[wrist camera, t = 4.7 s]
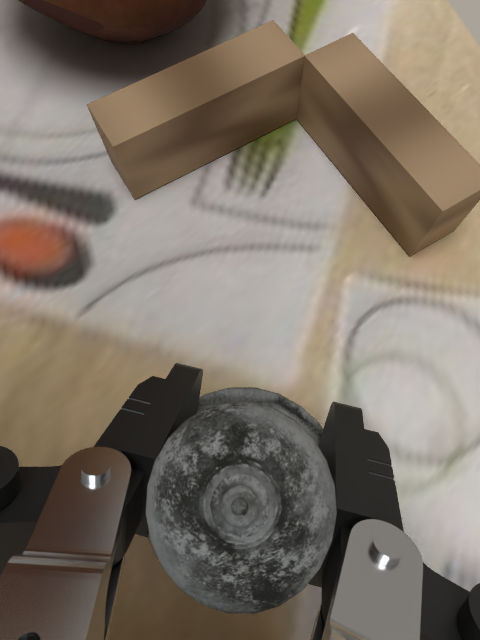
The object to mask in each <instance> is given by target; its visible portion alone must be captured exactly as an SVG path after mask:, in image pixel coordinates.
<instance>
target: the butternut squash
mask: <svg viewBox="0 0 480 640" xmlns="http://www.w3.org/2000/svg"><path fill="white" fill-rule="evenodd" d="M19 1H21V2H22V3H24V4H25V5H27V6H29V7H31V8H32V9H34V10H36V11H38V12H40V13H42V14H44V15H46V16H48V17H50V18H52V19H54V20H56V21H58V22H60V23H63V24H65V25H67V26H69V27H71V28H73V29H76V30H79V31H81V32H84V33H87V34H90V35H92V36H95V37H98V38H100V39H103V40H106V41H112V42H120V43H128V44H139V43H141V42H142V41H144V40H147V39H151V38H154V37H157V36H161V35H163V34H166V33H168V32H171V31H173V30H175V29H177V28H179V27H181V26H183V25H184V24H186V23H188V22H189V21H191V20H192V19H193V18H194V17H195V16H196V15H197V14H198V13H199V11H200V10H201V9H202V7H203V6H204V5H205V3H206V0H19Z"/></svg>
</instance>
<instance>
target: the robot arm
mask: <svg viewBox="0 0 480 640" xmlns="http://www.w3.org/2000/svg"><path fill="white" fill-rule="evenodd" d="M202 376H203V370H202V369H199V368H195V367H191V366H187V365H183V364H179V363H176V364H175V365H174V367H173V368H172V370H171V371H170V373H169V375H168V376H167V378H166V379H162V378H158V377H154V376H152V377H150V378H149V379H147V380H145V381H144V382H142V383H140V384H138V385H137V387H136V388H135V390H134V391H133V392H132V394H131V395H130V397H129V400H128V399H127V401H126V402H125V404H124V405H123V406H122V409H121V410H120V411H119V412H118V413H117V415H116V416H115V418H114V419H113V420H112V422H111V423H110V425H109V426H108V427H107V429H106V430H105V432H104V433H103V434H102V436H101V437H100V439H99V440H98V441H97V443H96V444H95V446H94V447H91V448H86V449H83V450H80V451H78V452H76V453H74V454H73V455H71V456H70V457H69V458H68V459H67V460H66V461H65V462H64V463H63V465H61V466H54V467H19V464H18V459H17V457H16V455H15V454H14V453H13V452H12V451H11V450H9V449H8V448H5V447H2V446H0V640H108V637H109V632H110V627H111V622H112V617H113V613H114V608H115V603H116V598H117V593H118V588H119V584H120V579H121V574H122V569H123V564H124V558H125V553H126V551H127V549H128V547H129V545H130V543H131V541H132V538H133V536H134V534H138V535H142V536H145V537H147V536H148V534H149V528H148V523H147V517H146V501H147V485H148V482H149V479H150V476H151V472H152V469H153V466H154V462H155V460H156V458H157V456H158V454H159V453H160V451H161V449H162V448H163V446H164V444H165V443H166V441H167V439H168V438H169V437H170V436H171V435H172V434H173V433H174V432H175V431H176V430H177V429H178V428H179V427H180V426H181V425H182V424H183V423H184V422H185V421H186V420H187V419H189V418H190V417H192V416H194V415H195V414H197V409H198V402H199V396H200V389H201V383H202ZM318 447H319V449H320V450H321V452H322V454H323V455H324V457H325V458H326V460H327V463H328V466H329V470H330V473H331V476H332V479H333V482H334V485H335V497H336V510H337V515H336V521H335V527H334V533H333V539H332V543H331V545H330V547H329V550H328V552H327V554H326V556H325V559H324V561H323V563H322V565H321V568H320V569H319V570H318V572H317V573H316V574H315V575H314V577H313V578H312V579H311V580H310V581H309V584H311V585H315V586H318V587H322V604H321V606H320V609H319V611H318V614H317V616H316V620H315V624H314V627H313V631H312V635H311V639H310V640H480V584H478V585H476V586H475V587H474V588H472V590H471V591H470V592H469V591H467V590H465V589H464V588H462V587H460V586H458V585H456V584H455V583H453V582H451V581H449V580H448V579H446V578H444V577H442V576H441V575H439V574H437V573H436V572H434V571H433V570H431V569H430V568H429V567H428V566H426V565H425V564H424V563H423V561H422V557H421V554H420V552H419V550H418V548H417V547H416V545H415V544H414V542H413V541H412V540H411V539H410V538H409V537H408V536H407V535H406V534H405V533H404V531H403V525H402V520H401V514H400V509H399V503H398V497H397V492H396V486H395V481H394V480H393V479H394V475H393V470H392V467H391V458H390V453H389V448H388V446H387V445H386V444H385V442H384V441H383V439H382V438H381V436H380V435H379V433H378V432H374V431H370V430H366V429H364V424H363V415H362V409H361V408H357V407H353V406H349V405H345V404H341V403H337V402H333V403H332V405H331V407H330V410H329V413H328V416H327V419H326V422H325V426H324V429H323V432H322V435H321V438H320V441H319V445H318Z"/></svg>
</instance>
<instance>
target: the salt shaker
mask: <svg viewBox="0 0 480 640" xmlns="http://www.w3.org/2000/svg"><path fill="white" fill-rule="evenodd" d="M322 432H323V428H322V427H321V425H320V424H319V423H318V422H317V421H316V420H315V419H314V418H313V417H312V416H311V415H310V414H309V413H308V412H307V411H305V410H304V409H303V408H302V407H301V406H300V405H298V404H296V403H294V402H292V401H291V400H289V399H287V398H285V397H284V396H282V395H280V394H277V393H274V392H270V391H266V390H262V389H258V388H227V389H223V390H219V391H216V392H212V393H208V394H205V395H203V396H202V397H200V398H199V402H198V409H197V414H195V415H194V416H192V417H190V418H189V419H187V420H186V421H185V422H184V423H183V424H182V425H181V426H180V427H179V428H178V429H177V430H176V431H175V432H174V433H173V434H172V435H171V436H170V437H169V438H168V439H167V441H166V443H165V444H164V446H163V448H162V449H161V451H160V453H159V454H158V456H157V458H156V460H155V462H154V466H153V469H152V472H151V476H150V479H149V482H148V485H147V501H146V517H147V523H148V528H149V534H148V536H147V537H148V539H149V541H150V543H151V545H152V547H153V550H154V552H155V554H156V556H157V558H158V560H159V561H160V563H161V565H162V568H163V569H164V570H165V571H166V573H167V574H168V575H169V576H170V577H171V579H172V580H173V581H174V582H175V584H176V585H177V586H178V587H179V589H180V590H182V591H183V592H185V593H186V594H188V595H189V596H190V597H192V598H193V599H195V600H196V601H198V602H199V603H200V604H202V605H204V606H207V607H210V608H213V609H216V610H220V611H223V612H226V613H258V612H261V611H264V610H267V609H270V608H274V607H277V606H280V605H282V604H283V603H285V602H286V601H287V600H289V599H290V598H292V597H293V596H295V595H296V594H297V593H299V592H300V591H302V590H303V589H304V588H305V586H306V585H307V584H308V583H309V581H310V580H311V579H312V578H313V577H314V575H315V574H316V573H317V572H318V570H319V569H320V568H321V565H322V563H323V561H324V559H325V556H326V554H327V552H328V550H329V547H330V545H331V543H332V539H333V533H334V527H335V521H336V515H337V510H336V497H335V485H334V482H333V479H332V476H331V473H330V470H329V466H328V463H327V460H326V458H325V457H324V455H323V454H322V452H321V450H320V449H319V447H318V445H319V441H320V438H321V435H322Z"/></svg>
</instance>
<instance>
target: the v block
mask: <svg viewBox="0 0 480 640" xmlns="http://www.w3.org/2000/svg"><path fill="white" fill-rule="evenodd" d="M87 106H88V109H89V111H90V113H91V116H92V118H93V120H94V122H95V125H96V127H97V129H98V132H99V134H100V136H101V139H102V141H103V143H104V145H105V148H106V150H107V152H108V155H109V157H110V159H111V162H112V163H113V165H114V167H115V168H116V170H117V172H118V173H119V175H120V176H121V178H122V180H123V181H124V183H125V185H126V186H127V188H128V189H129V191H130V193H131V194H132V196H133V198H134V199H137V198H139V197H141V196H143V195H145V194H147V193H149V192H151V191H153V190H155V189H157V188H159V187H161V186H163V185H165V184H167V183H169V182H171V181H173V180H175V179H177V178H179V177H181V176H183V175H185V174H187V173H189V172H191V171H193V170H195V169H197V168H199V167H201V166H203V165H205V164H207V163H209V162H211V161H213V160H215V159H217V158H219V157H221V156H223V155H225V154H227V153H229V152H231V151H233V150H235V149H237V148H239V147H241V146H243V145H245V144H247V143H249V142H251V141H253V140H255V139H257V138H259V137H261V136H263V135H265V134H267V133H269V132H271V131H273V130H275V129H277V128H279V127H281V126H283V125H285V124H287V123H289V122H291V121H293V120H295V119H297V120H298V122H299V123H300V124H301V125H302V126H303V128H304V129H305V130H306V131H307V132H308V134H309V135H310V136H311V137H312V139H313V140H314V141H315V142H316V143H317V145H318V146H319V147H320V148H321V149H322V151H323V152H324V153H325V154H326V156H327V157H328V158H329V159H330V160H331V162H332V163H333V164H334V165H335V166H336V168H337V169H338V170H339V171H340V173H341V174H342V175H343V176H344V177H345V179H346V180H347V181H348V182H349V183H350V185H351V186H352V187H353V188H354V190H355V191H356V192H357V193H358V194H359V196H360V197H361V198H362V199H363V200H364V202H365V203H366V204H367V205H368V207H369V208H370V209H371V210H372V211H373V213H374V214H375V215H376V216H377V218H378V219H379V220H380V221H381V222H382V224H383V225H384V226H385V227H386V228H387V230H388V231H389V232H390V233H391V235H392V236H393V237H394V238H395V239H396V241H397V242H398V243H399V244H400V245H401V247H402V248H403V249H404V250H405V252H406V253H407V254H408V255H409V256H412V255H413V254H415V253H417V252H418V251H420V250H422V249H424V248H425V247H427V246H429V245H430V244H432V243H434V242H435V241H437V240H439V239H441V238H442V237H444V236H446V235H447V234H449V233H451V232H452V231H454V230H455V229H456V228H457V227H458V225H459V224H460V223H461V222H462V221H463V219H464V218H465V217H466V216H467V215H468V213H469V212H470V211H471V210H472V209H473V208H474V206H475V205H476V204H477V203H478V202H479V200H480V164H479V163H478V162H477V161H476V160H475V159H474V158H473V157H472V156H471V155H470V154H469V153H468V152H467V151H466V150H465V149H464V148H463V147H462V146H461V145H460V144H459V142H458V141H457V140H456V139H455V138H454V137H453V136H452V135H451V134H450V133H449V132H448V131H447V130H446V129H445V128H444V127H443V126H442V125H441V124H440V123H439V122H438V121H437V120H436V119H435V118H434V117H433V115H432V114H431V113H430V112H429V111H428V110H427V109H426V108H425V107H424V106H423V105H422V104H421V103H420V102H419V101H418V100H417V99H416V98H415V97H414V96H413V95H412V94H411V93H410V92H409V91H408V89H407V88H406V87H405V86H404V85H403V84H402V83H401V82H400V81H399V80H398V79H397V78H396V77H395V76H394V75H393V74H392V73H391V72H390V71H389V70H388V69H387V68H386V67H385V66H384V65H383V64H382V62H381V61H380V60H379V59H378V58H377V57H376V56H375V55H374V54H373V53H372V52H371V51H370V50H369V49H368V48H367V47H366V46H365V45H364V44H363V43H362V42H361V41H360V40H359V39H358V38H357V36H356V35H355V34H354V33H351V34H349V35H347V36H345V37H343V38H341V39H339V40H337V41H335V42H332V43H330V44H328V45H326V46H324V47H322V48H320V49H318V50H316V51H313V52H311V53H309V54H307V55H304V54H303V53H302V52H301V51H300V50H299V48H298V47H297V46H296V45H295V44H294V43H293V42H292V41H291V39H290V38H289V37H288V36H287V35H286V34H285V33H284V32H283V30H282V29H281V28H280V27H279V26H278V25H277V24H276V23H275V21H274V20H272V21H270V22H268V23H266V24H263V25H261V26H259V27H257V28H255V29H252V30H250V31H248V32H246V33H243V34H241V35H239V36H237V37H235V38H232V39H230V40H228V41H226V42H224V43H221V44H219V45H217V46H215V47H213V48H210V49H208V50H206V51H204V52H202V53H199V54H197V55H195V56H193V57H191V58H188V59H186V60H184V61H182V62H180V63H177V64H175V65H173V66H171V67H169V68H166V69H164V70H162V71H160V72H158V73H155V74H153V75H151V76H149V77H147V78H144V79H142V80H140V81H138V82H136V83H133V84H131V85H129V86H127V87H124V88H122V89H120V90H118V91H116V92H113V93H111V94H109V95H107V96H105V97H102V98H100V99H98V100H96V101H94V102H91V103H89V104H87Z"/></svg>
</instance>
